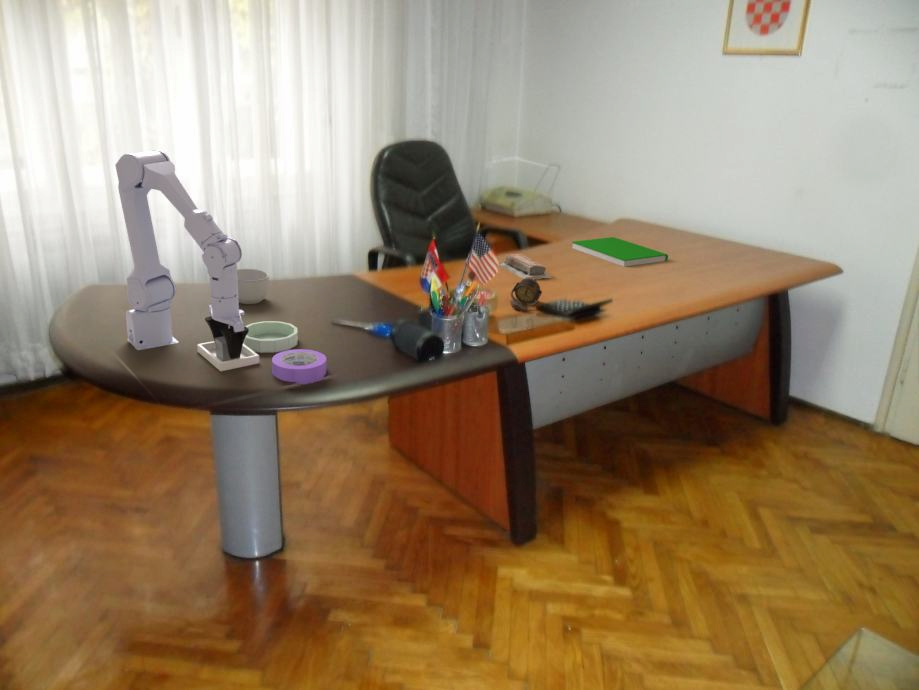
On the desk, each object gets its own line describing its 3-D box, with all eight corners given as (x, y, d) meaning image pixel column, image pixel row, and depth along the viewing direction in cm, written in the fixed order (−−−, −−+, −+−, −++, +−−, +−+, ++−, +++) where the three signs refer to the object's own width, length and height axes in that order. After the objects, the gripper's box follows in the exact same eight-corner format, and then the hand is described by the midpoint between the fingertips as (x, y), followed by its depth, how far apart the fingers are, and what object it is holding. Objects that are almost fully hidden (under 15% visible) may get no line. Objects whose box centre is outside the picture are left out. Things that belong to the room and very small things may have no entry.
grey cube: (223, 361, 169) (222, 343, 167) (216, 356, 171) (215, 337, 170) (240, 358, 171) (239, 340, 169) (233, 352, 174) (232, 334, 172)
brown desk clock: (554, 287, 221) (528, 272, 226) (528, 291, 211) (502, 276, 217) (546, 309, 224) (520, 294, 229) (520, 314, 214) (494, 298, 220)
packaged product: (500, 253, 258) (525, 251, 262) (498, 267, 260) (523, 265, 264) (526, 267, 243) (553, 265, 247) (525, 281, 245) (551, 279, 249)
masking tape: (288, 360, 173) (288, 345, 172) (335, 369, 171) (335, 353, 169) (262, 380, 163) (261, 363, 162) (311, 389, 160) (311, 372, 159)
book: (623, 268, 268) (624, 260, 267) (571, 249, 290) (571, 241, 289) (667, 262, 280) (668, 254, 279) (613, 244, 302) (614, 236, 300)
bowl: (256, 358, 173) (255, 344, 172) (232, 340, 182) (232, 327, 181) (307, 347, 181) (307, 334, 179) (282, 331, 190) (282, 318, 189)
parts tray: (220, 373, 164) (219, 363, 163) (198, 354, 173) (197, 344, 173) (259, 365, 169) (259, 355, 169) (235, 346, 179) (235, 337, 178)
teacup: (254, 292, 217) (253, 265, 214) (278, 301, 211) (277, 274, 208) (211, 302, 207) (210, 274, 204) (235, 312, 201) (234, 283, 198)
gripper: (256, 300, 163) (258, 359, 168) (228, 283, 173) (232, 338, 178) (224, 306, 159) (228, 365, 164) (198, 287, 169) (202, 344, 174)
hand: (228, 352), depth 171 cm, fingers open, 7 cm apart
